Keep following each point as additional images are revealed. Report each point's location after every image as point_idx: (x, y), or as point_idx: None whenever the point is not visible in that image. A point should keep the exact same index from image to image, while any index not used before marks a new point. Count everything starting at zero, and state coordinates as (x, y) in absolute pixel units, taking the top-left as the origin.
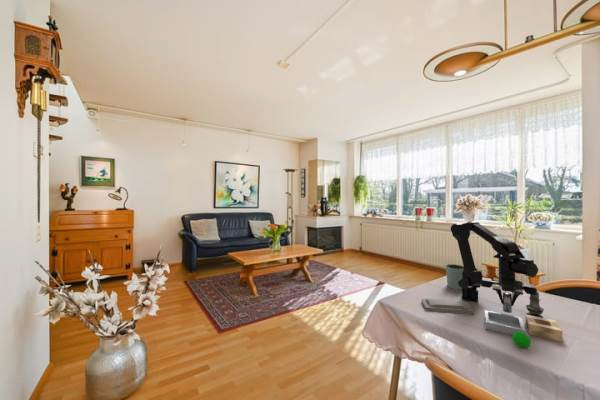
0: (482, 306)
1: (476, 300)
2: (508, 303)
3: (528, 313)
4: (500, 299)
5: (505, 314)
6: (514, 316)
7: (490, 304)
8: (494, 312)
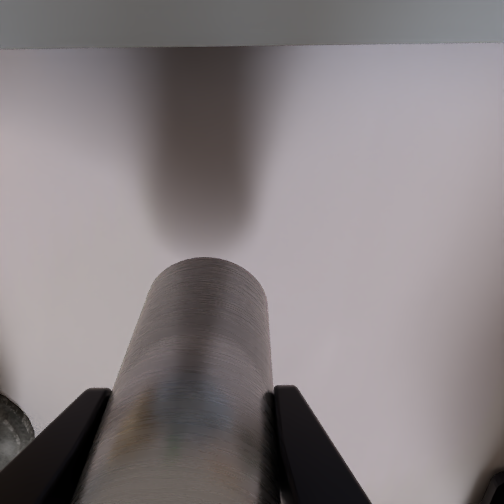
0: (463, 399)
1: (501, 493)
2: (155, 399)
3: (9, 436)
4: (349, 482)
5: (246, 34)
6: (64, 17)
7: (359, 478)
8: (479, 8)
